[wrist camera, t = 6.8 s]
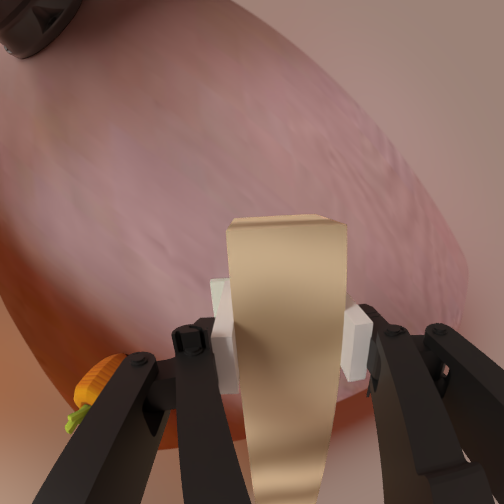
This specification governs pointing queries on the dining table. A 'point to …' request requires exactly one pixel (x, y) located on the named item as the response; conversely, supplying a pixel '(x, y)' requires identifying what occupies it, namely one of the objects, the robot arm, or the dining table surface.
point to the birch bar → (288, 346)
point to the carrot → (92, 388)
